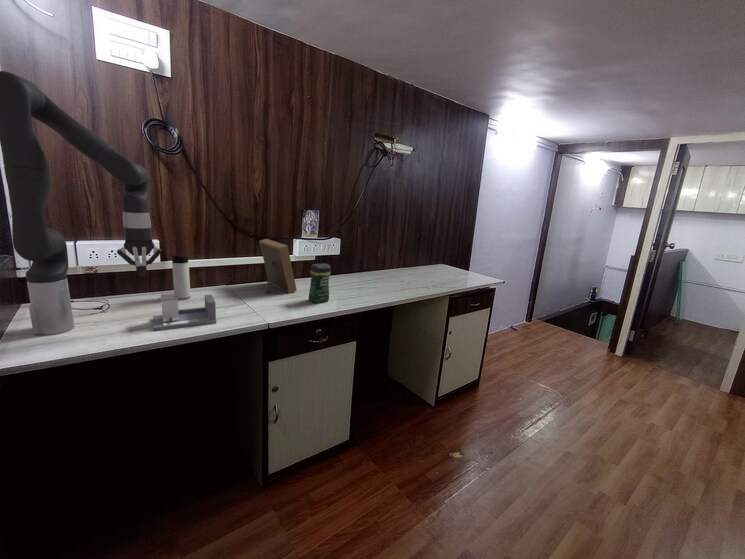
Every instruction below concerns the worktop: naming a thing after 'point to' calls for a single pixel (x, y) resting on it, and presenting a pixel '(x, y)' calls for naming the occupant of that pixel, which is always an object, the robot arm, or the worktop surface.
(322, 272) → the coffee jar
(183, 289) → the travel mug
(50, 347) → the worktop surface
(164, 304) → the carriage
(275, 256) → the photo frame
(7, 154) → the robot arm
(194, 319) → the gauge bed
